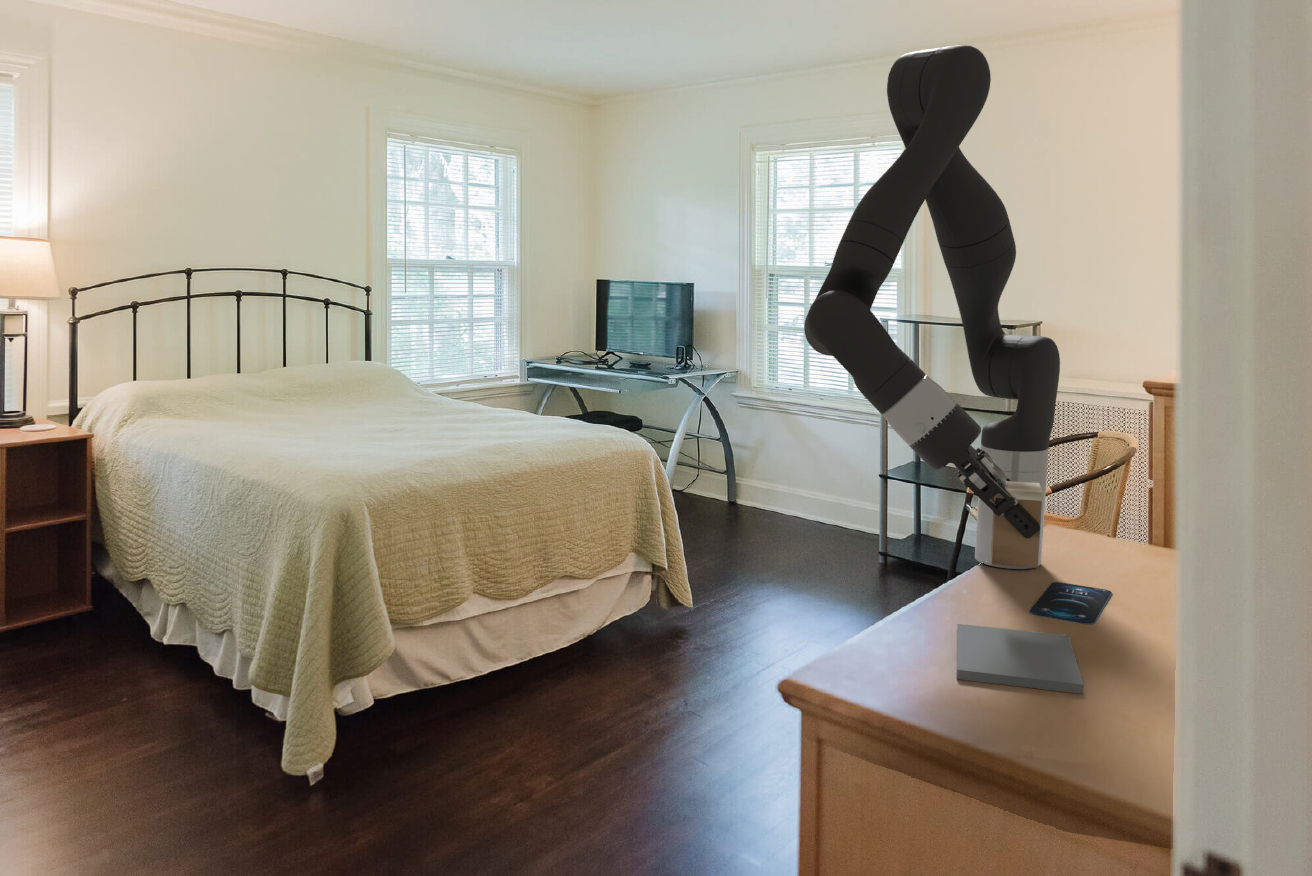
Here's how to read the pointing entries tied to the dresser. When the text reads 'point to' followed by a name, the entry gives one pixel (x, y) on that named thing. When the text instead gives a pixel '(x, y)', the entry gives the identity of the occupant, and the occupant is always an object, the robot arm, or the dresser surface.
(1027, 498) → the tan rectangular block
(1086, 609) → the smartphone
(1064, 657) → the slate mat
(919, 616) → the dresser surface
